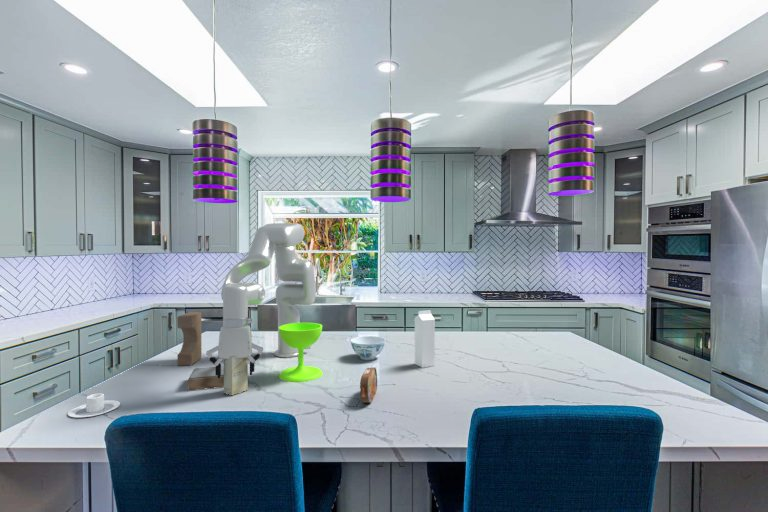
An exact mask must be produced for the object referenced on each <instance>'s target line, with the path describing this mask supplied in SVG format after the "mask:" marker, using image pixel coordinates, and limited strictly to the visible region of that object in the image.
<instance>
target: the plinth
mask: <svg viewBox="0 0 768 512" xmlns="http://www.w3.org/2000/svg"><path fill="white" fill-rule="evenodd" d="M214 387H220V388H224V365H221V377H220V378H218V375H216V366H209V367H208V366H207V367H195V368H194V369H193V370H192V372H191V374H190V376H189V377H188V379H187V391H188V390H191V391H197V390H196V389H201V390H206V389H205V388H210V389H215V388H214Z"/></svg>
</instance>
